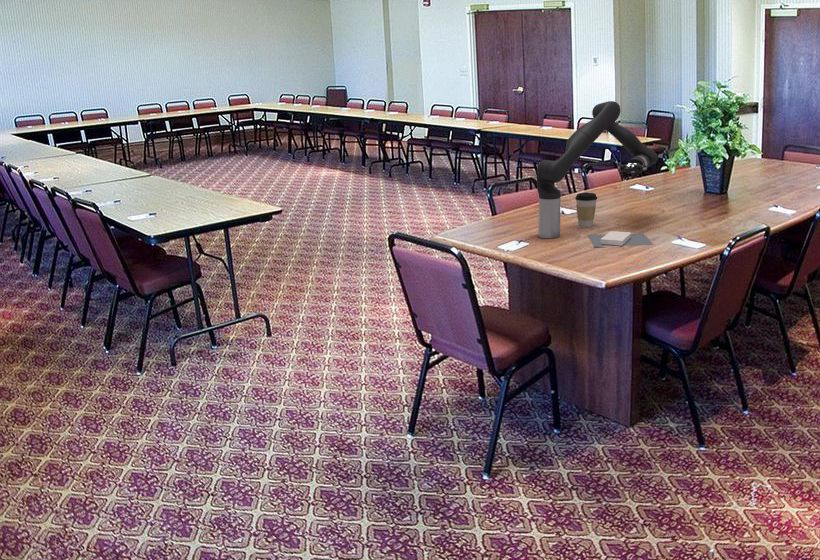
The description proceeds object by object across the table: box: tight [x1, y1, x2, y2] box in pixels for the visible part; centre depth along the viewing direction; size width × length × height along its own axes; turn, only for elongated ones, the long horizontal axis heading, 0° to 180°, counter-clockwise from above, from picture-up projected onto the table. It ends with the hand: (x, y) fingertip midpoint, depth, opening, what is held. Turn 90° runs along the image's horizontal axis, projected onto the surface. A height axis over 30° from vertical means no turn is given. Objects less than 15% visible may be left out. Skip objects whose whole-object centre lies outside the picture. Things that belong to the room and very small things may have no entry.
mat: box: [587, 232, 655, 249], centre depth 327 cm, size 24×20×1 cm
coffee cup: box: [574, 192, 598, 229], centre depth 353 cm, size 10×10×15 cm
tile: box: [600, 230, 632, 247], centre depth 325 cm, size 2×9×15 cm
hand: (627, 170), depth 332 cm, fingers closed
